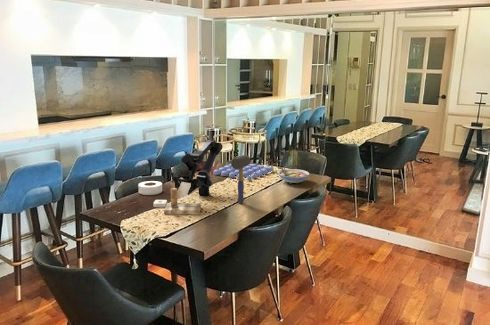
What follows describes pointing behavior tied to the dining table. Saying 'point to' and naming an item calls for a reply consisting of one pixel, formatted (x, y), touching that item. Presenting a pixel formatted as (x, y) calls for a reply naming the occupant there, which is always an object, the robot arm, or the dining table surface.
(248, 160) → the rubber mallet
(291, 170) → the ramen bowl
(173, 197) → the awl
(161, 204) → the awl holder
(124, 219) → the dining table surface
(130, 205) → the dining table surface
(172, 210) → the beige flat rectangular piece
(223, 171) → the purple egg tray
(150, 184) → the roll of tape
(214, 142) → the robot arm
